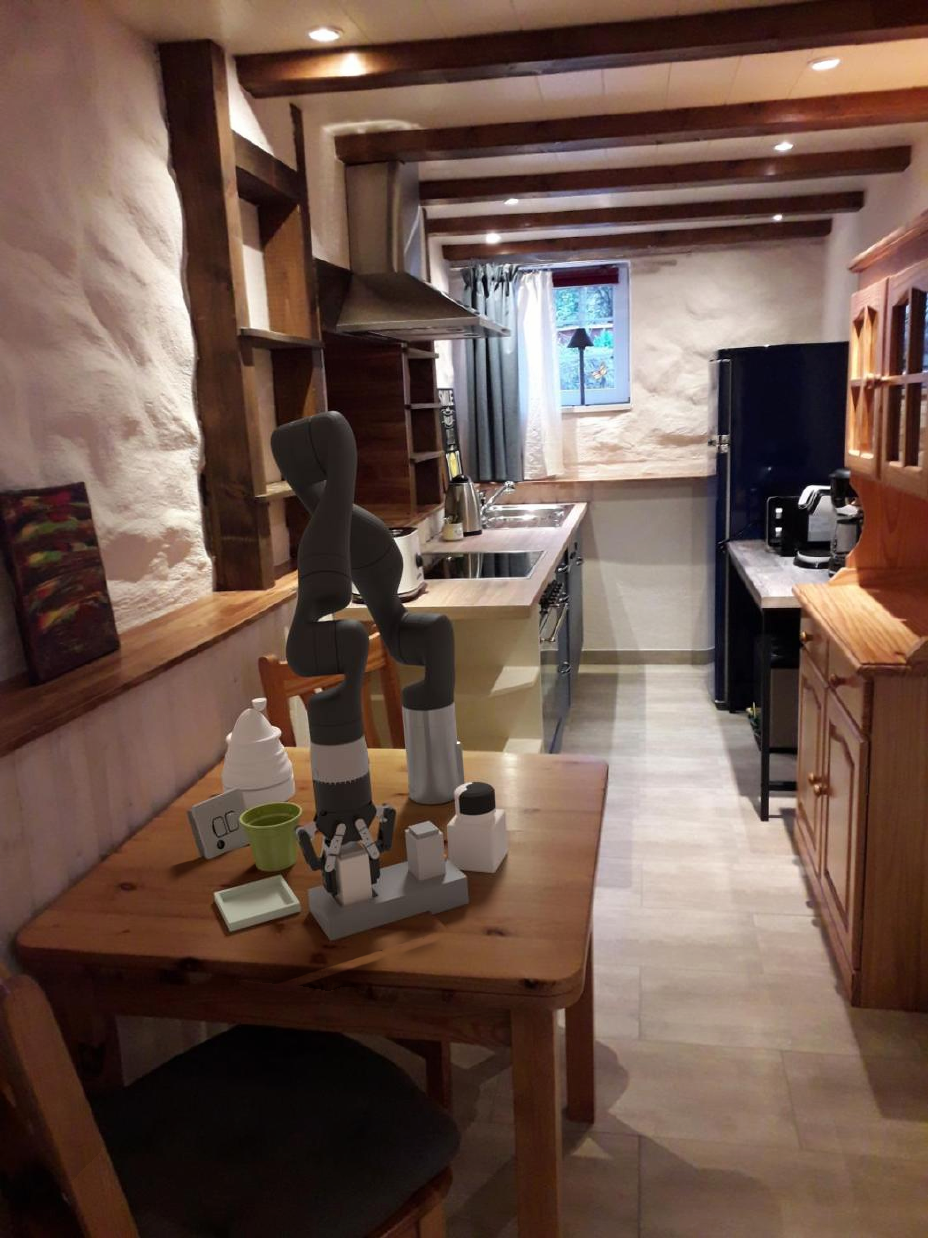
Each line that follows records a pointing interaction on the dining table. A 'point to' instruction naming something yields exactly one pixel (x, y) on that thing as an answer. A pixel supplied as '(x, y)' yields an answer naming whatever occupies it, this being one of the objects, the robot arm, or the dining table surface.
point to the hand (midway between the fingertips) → (352, 887)
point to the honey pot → (257, 760)
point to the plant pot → (272, 834)
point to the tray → (256, 902)
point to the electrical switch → (219, 824)
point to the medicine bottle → (477, 829)
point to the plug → (352, 874)
